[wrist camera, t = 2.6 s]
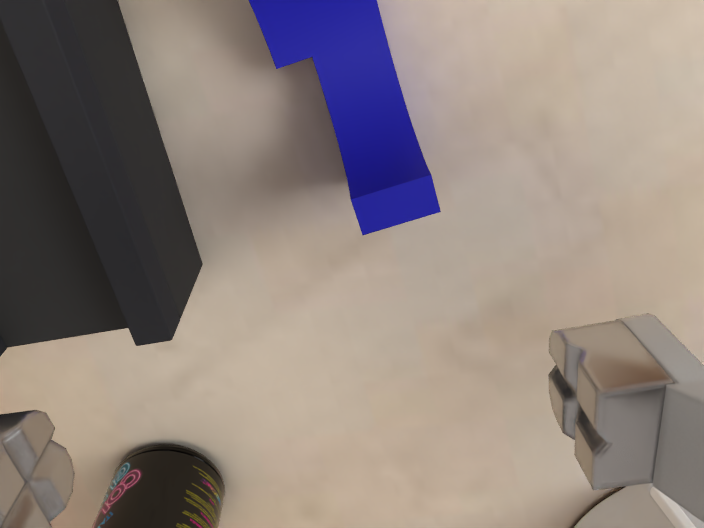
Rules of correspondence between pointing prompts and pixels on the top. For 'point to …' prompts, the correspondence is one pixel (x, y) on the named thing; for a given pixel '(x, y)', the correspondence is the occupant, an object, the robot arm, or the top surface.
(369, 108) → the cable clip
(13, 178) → the inspection stand
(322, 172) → the top surface
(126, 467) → the supplement container
